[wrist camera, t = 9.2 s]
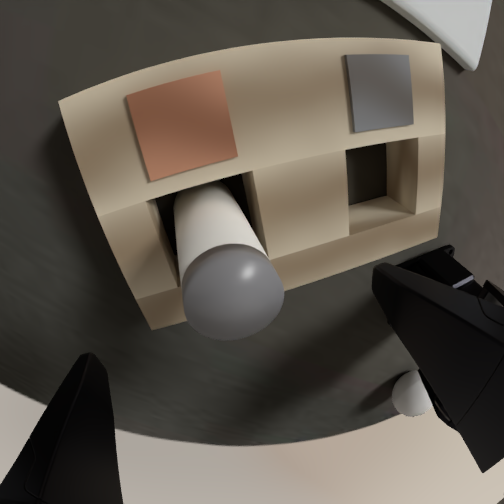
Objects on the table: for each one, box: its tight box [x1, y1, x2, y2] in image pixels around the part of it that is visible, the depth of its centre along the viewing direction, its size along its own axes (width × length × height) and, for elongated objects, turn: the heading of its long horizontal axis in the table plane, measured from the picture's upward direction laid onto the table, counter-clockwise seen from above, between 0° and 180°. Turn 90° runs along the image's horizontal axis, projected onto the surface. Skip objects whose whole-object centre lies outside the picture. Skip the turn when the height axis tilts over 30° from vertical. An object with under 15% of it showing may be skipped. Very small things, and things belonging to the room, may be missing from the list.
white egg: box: [392, 371, 432, 417], centre depth 31 cm, size 8×6×6 cm
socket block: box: [58, 38, 445, 330], centre depth 15 cm, size 12×18×3 cm, turn 101°
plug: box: [174, 180, 284, 340], centre depth 13 cm, size 3×3×8 cm
